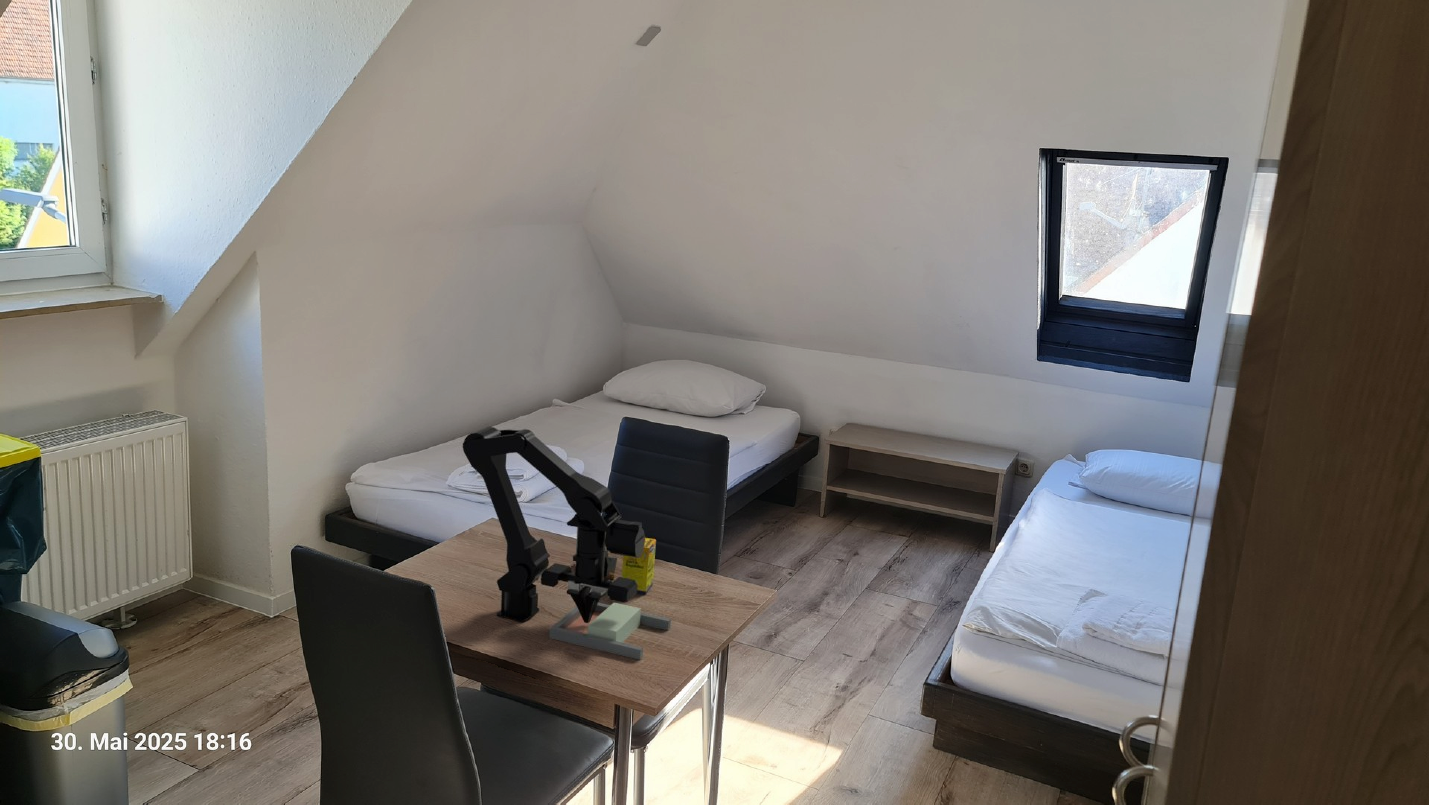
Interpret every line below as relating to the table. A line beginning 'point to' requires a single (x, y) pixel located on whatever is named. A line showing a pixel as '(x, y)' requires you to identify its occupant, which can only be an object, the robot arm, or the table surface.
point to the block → (616, 622)
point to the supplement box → (641, 567)
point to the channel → (574, 626)
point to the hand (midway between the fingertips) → (587, 622)
